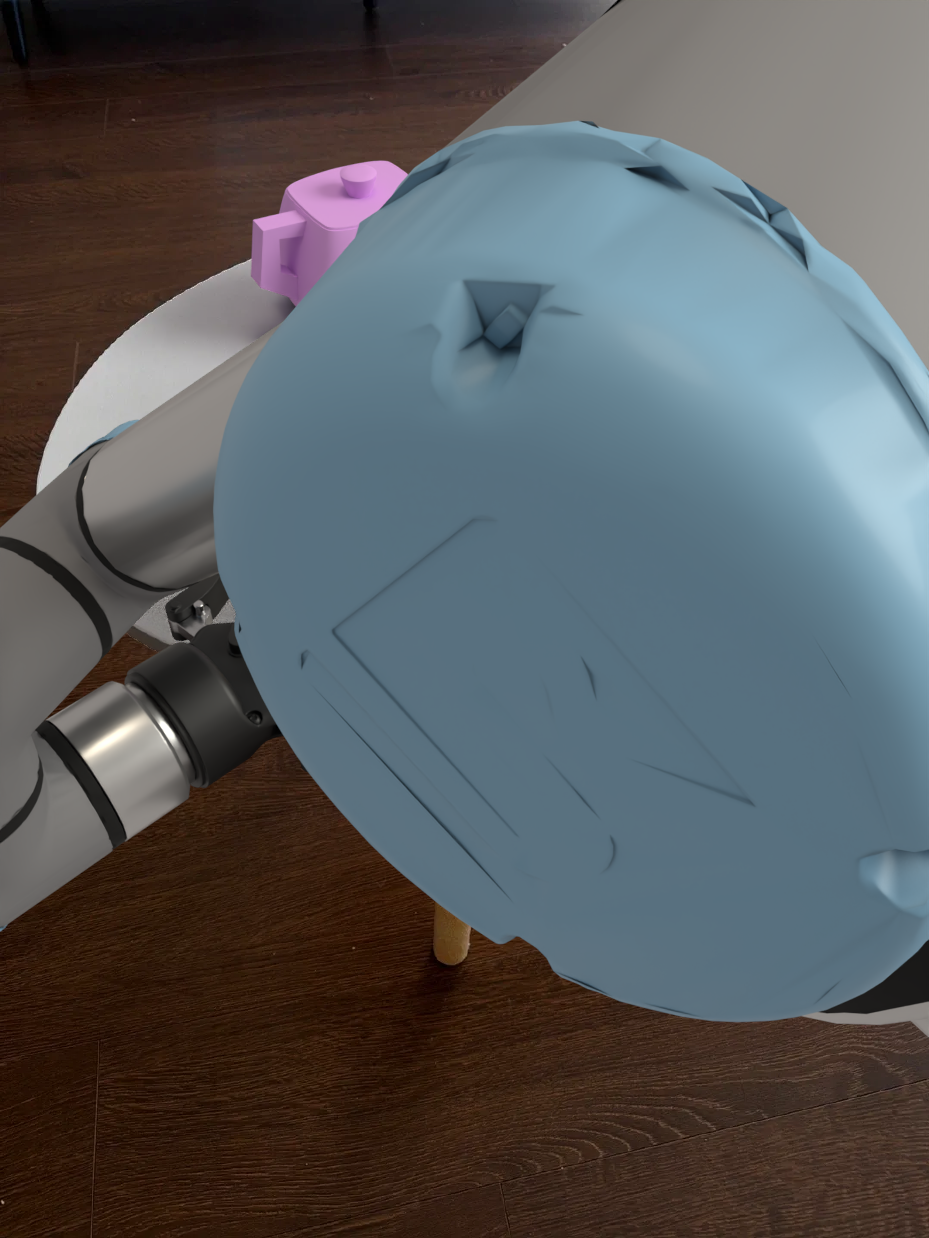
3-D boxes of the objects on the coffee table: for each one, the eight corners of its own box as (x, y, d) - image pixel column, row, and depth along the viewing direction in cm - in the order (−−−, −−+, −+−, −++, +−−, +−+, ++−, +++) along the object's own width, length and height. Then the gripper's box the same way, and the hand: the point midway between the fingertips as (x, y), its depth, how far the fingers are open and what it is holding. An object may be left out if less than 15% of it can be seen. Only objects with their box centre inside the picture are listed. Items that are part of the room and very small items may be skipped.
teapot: (297, 382, 89) (282, 238, 79) (232, 308, 96) (211, 166, 86) (502, 312, 96) (510, 172, 87) (428, 248, 103) (429, 112, 94)
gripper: (56, 647, 67) (329, 493, 77) (307, 929, 55) (591, 704, 65) (23, 561, 61) (322, 406, 71) (294, 854, 50) (607, 621, 60)
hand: (451, 548), depth 68 cm, fingers open, 13 cm apart
